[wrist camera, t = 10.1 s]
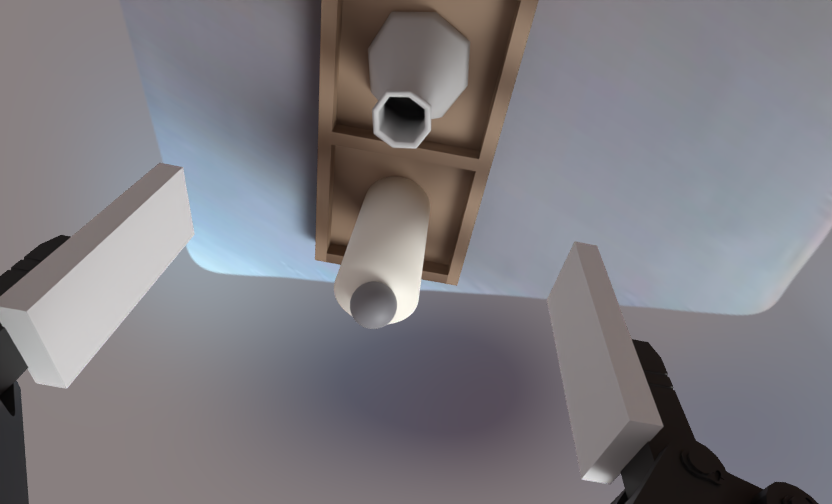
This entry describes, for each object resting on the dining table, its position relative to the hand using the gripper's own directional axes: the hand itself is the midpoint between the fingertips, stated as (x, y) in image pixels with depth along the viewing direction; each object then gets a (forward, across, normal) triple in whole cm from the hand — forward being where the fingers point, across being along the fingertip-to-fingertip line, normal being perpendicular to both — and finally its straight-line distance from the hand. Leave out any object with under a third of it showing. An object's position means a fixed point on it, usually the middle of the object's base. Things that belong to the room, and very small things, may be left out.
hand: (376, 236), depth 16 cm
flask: (+20, 0, 0) cm, 20 cm away
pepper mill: (+20, 0, -12) cm, 23 cm away
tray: (+21, 0, -6) cm, 22 cm away
